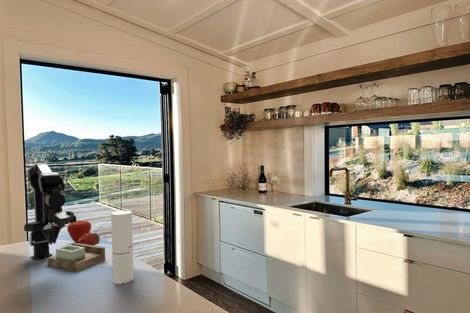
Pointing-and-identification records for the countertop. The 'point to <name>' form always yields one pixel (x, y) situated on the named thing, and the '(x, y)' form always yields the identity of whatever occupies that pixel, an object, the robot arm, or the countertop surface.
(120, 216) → the cylindrical container
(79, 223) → the apple
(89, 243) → the dragon fruit
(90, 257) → the walnut shelf
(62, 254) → the sage tray
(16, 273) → the countertop surface
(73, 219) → the robot arm
